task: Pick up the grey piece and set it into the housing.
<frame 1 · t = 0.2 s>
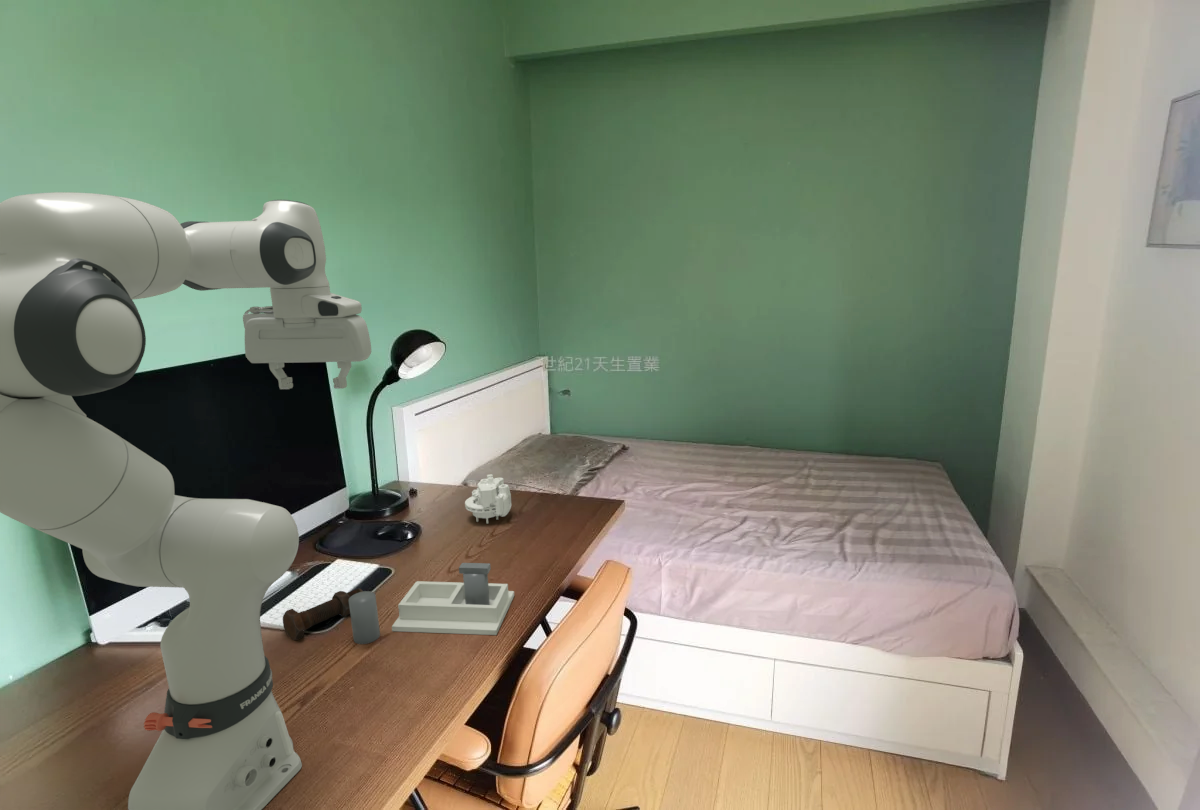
hand: (313, 388, 107), 47 cm above the table, fingers open, 8 cm apart
bolt: (329, 621, 123), on the table
grey piece: (366, 636, 117), on the table
mechanical part: (489, 520, 169), on the table
housing: (456, 612, 124), on the table
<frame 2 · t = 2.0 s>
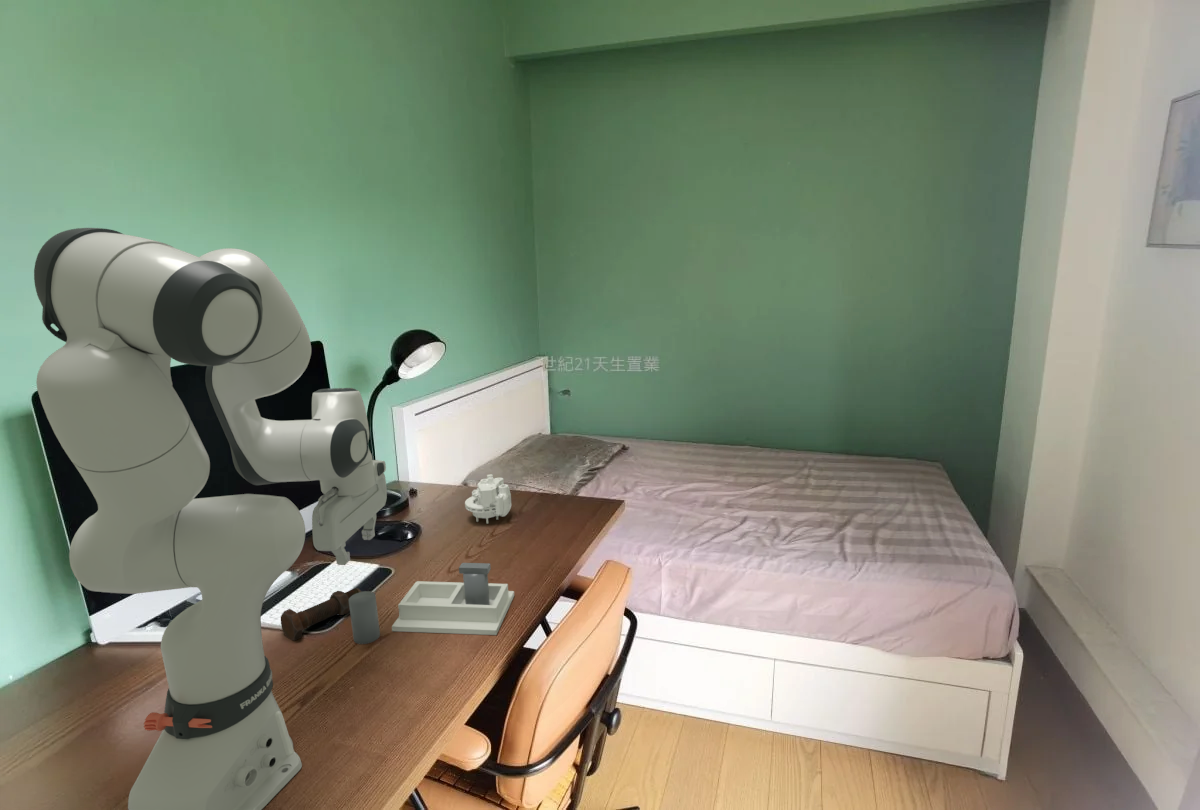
hand: (356, 550, 114), 17 cm above the table, fingers open, 8 cm apart
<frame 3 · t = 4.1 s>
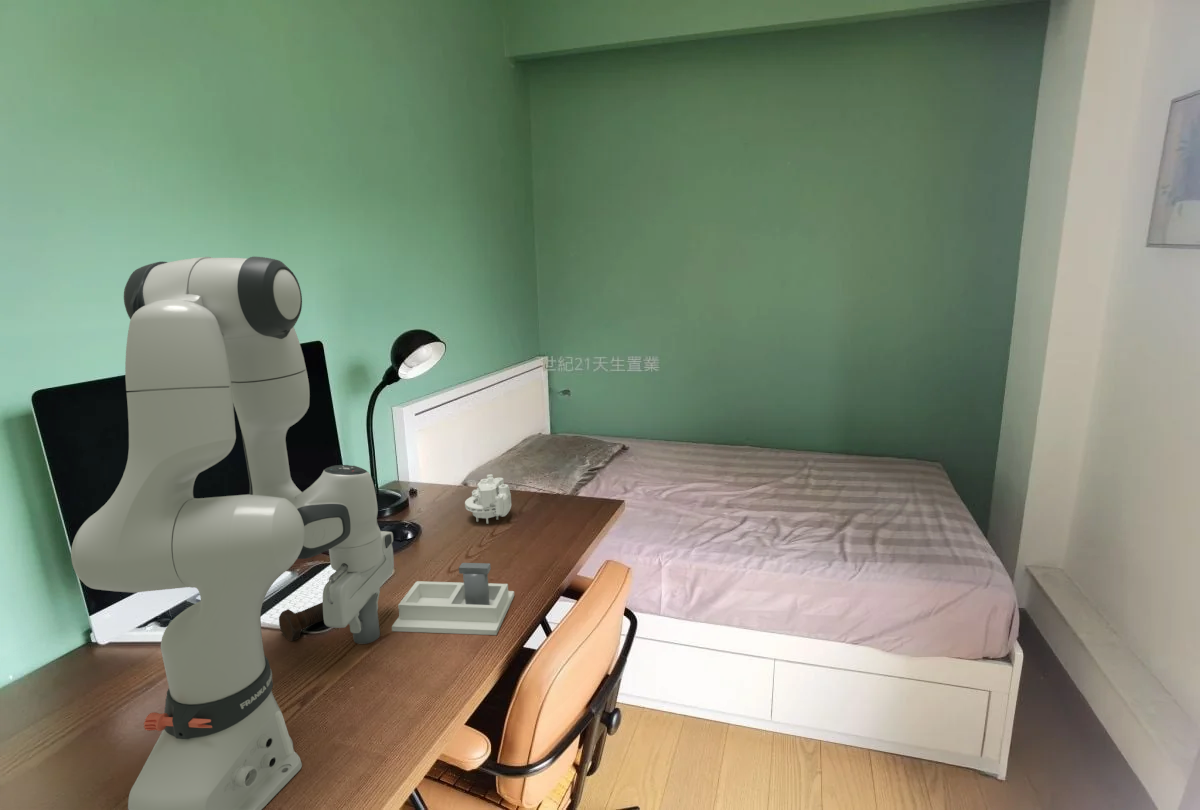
hand: (364, 621, 117), 3 cm above the table, fingers closed on grey piece, 5 cm apart
grey piece: (366, 636, 117), on the table, touching gripper
everything else where it was.
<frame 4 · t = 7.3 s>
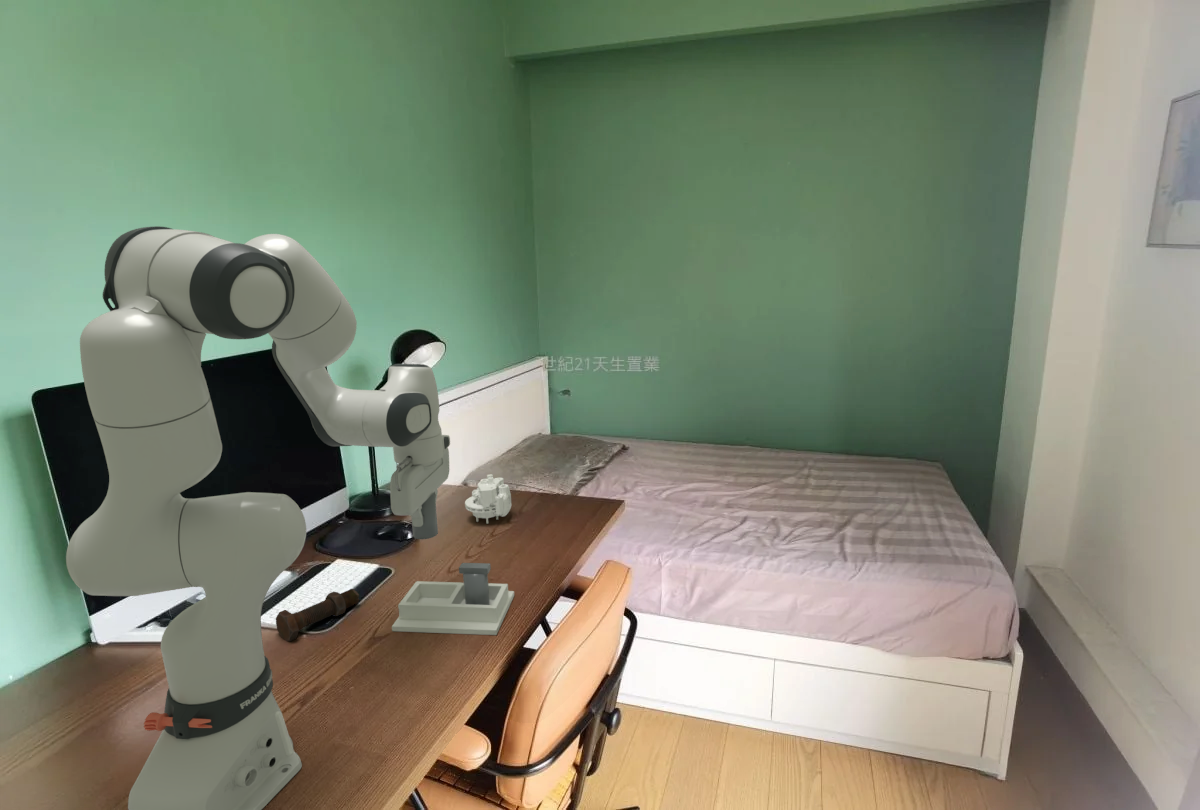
hand: (425, 518, 120), 20 cm above the table, fingers closed on grey piece, 5 cm apart
grey piece: (425, 534, 121), point 17 cm above the table, touching gripper
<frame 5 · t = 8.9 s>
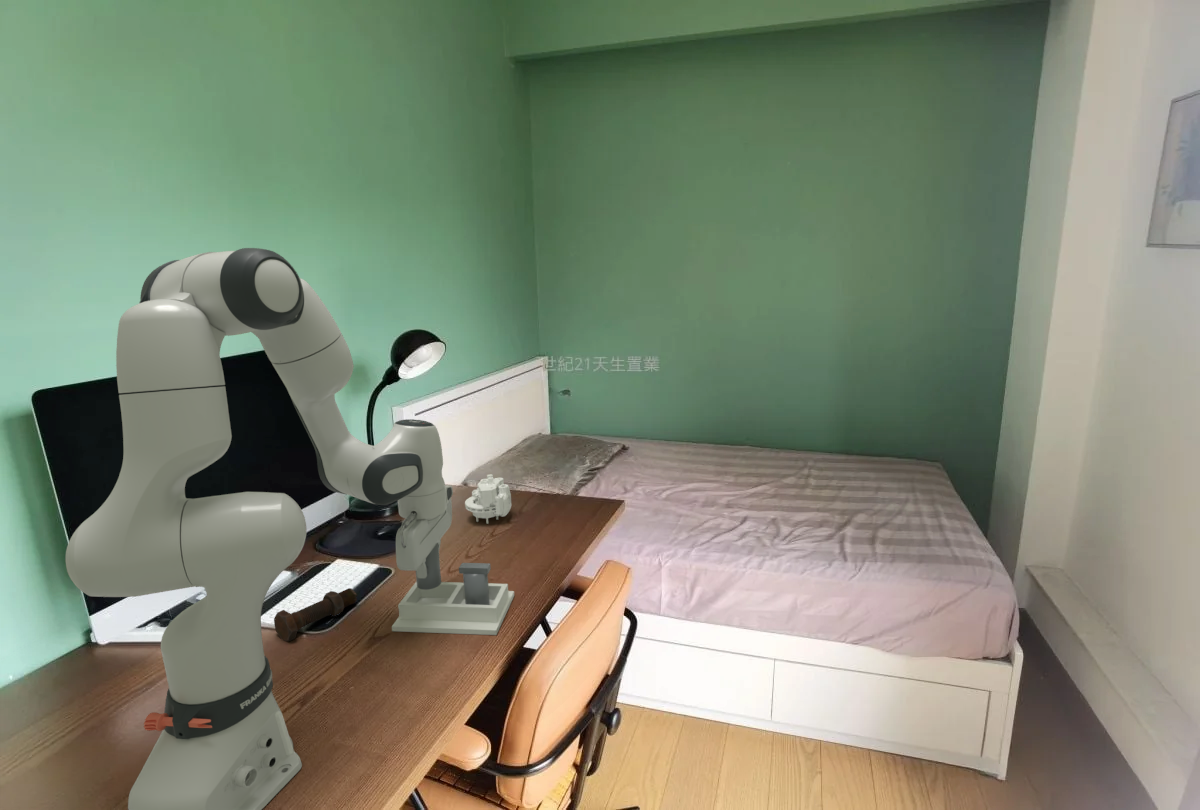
hand: (428, 568, 123), 9 cm above the table, fingers closed on grey piece, 5 cm apart
grey piece: (429, 583, 124), point 6 cm above the table, touching gripper
when the fingers open (6 cm above the table, at t = 10.5 s): grey piece drops 1 cm, resting on housing.
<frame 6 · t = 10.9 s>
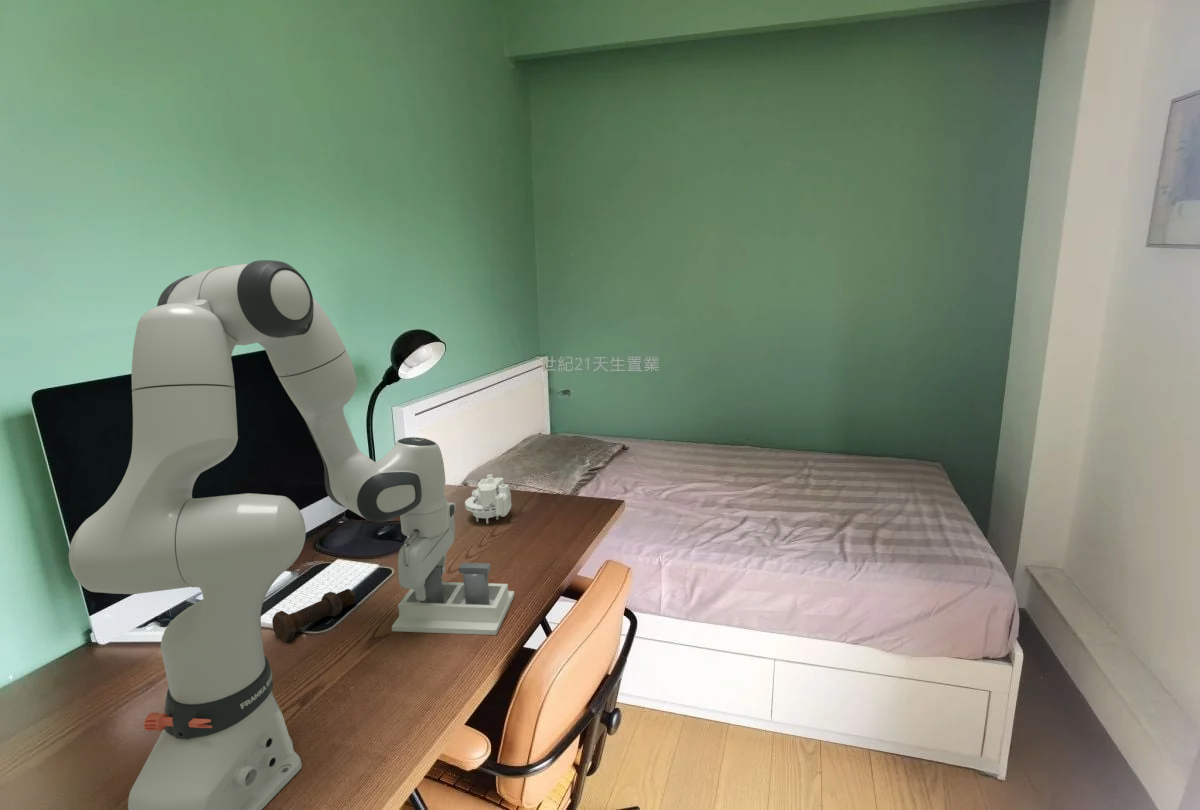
hand: (431, 586, 124), 6 cm above the table, fingers open, 8 cm apart
grey piece: (432, 607, 125), point 1 cm above the table, touching housing
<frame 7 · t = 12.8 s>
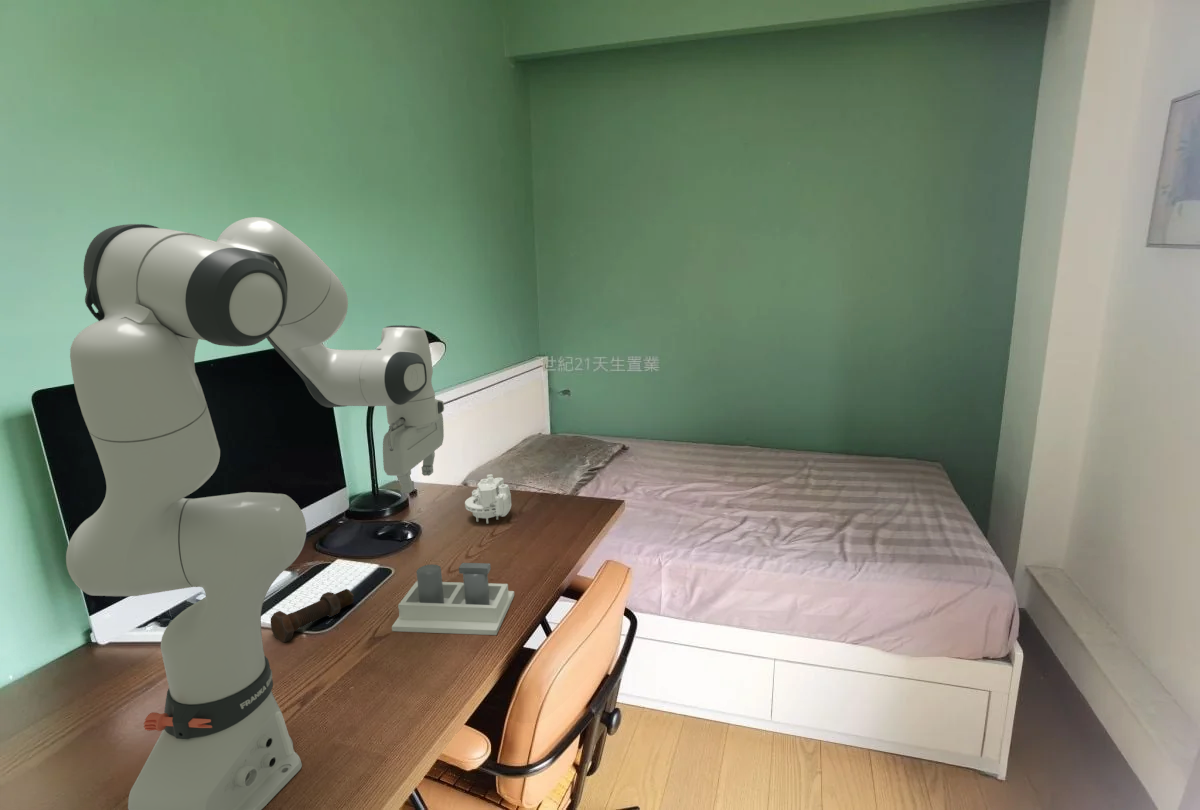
hand: (418, 482, 121), 26 cm above the table, fingers open, 8 cm apart
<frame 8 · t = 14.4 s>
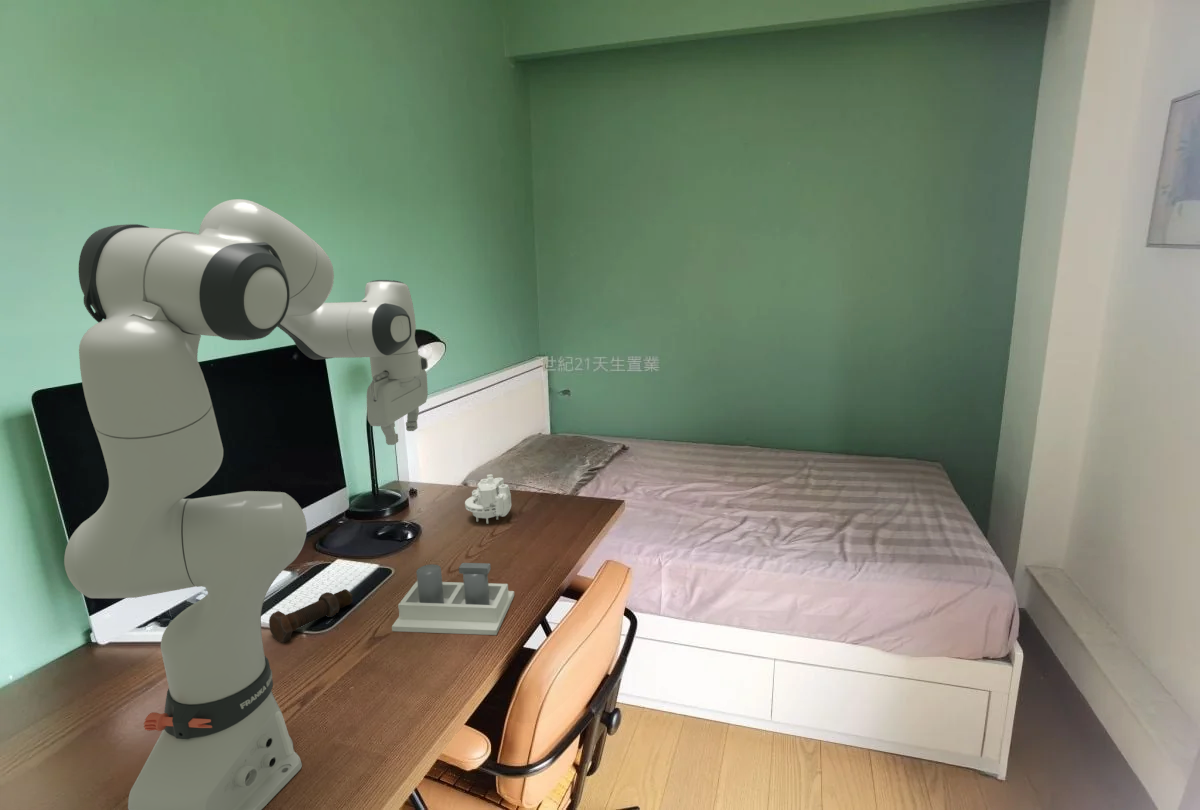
hand: (402, 436, 124), 34 cm above the table, fingers open, 8 cm apart
at the end: grey piece 0.2 cm from the target spot on the housing, point 1.0 cm above the housing's base; grey piece tilted 0°; the gripper is holding nothing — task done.
